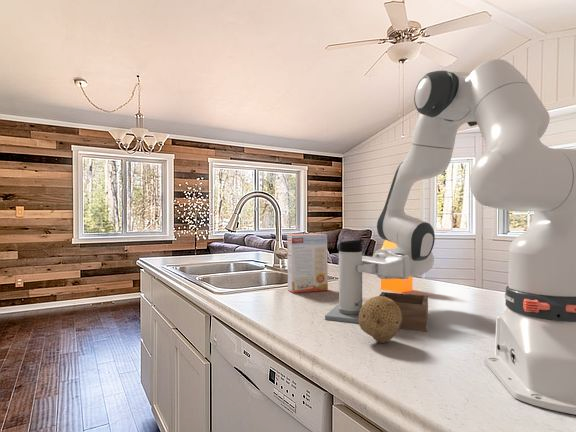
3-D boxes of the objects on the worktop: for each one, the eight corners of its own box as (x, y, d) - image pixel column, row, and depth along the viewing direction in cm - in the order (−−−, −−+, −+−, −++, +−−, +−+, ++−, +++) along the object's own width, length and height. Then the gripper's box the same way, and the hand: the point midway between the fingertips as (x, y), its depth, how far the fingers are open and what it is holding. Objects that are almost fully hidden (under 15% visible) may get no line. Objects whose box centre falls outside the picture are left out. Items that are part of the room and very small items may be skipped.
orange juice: (392, 286, 139) (392, 235, 139) (412, 290, 132) (412, 236, 132) (380, 289, 134) (380, 236, 134) (401, 292, 127) (401, 237, 127)
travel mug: (363, 316, 93) (363, 240, 93) (338, 314, 95) (338, 239, 95) (363, 310, 99) (363, 238, 100) (339, 308, 101) (339, 238, 101)
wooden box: (426, 331, 84) (426, 306, 84) (374, 325, 89) (374, 301, 89) (427, 318, 95) (427, 295, 95) (382, 313, 100) (382, 291, 100)
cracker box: (321, 287, 136) (321, 233, 136) (328, 290, 130) (328, 233, 130) (286, 290, 131) (286, 233, 132) (292, 293, 126) (292, 234, 126)
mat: (366, 324, 89) (366, 320, 89) (324, 319, 94) (324, 315, 94) (374, 312, 100) (374, 309, 100) (337, 308, 105) (337, 305, 105)
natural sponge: (380, 353, 70) (380, 303, 70) (349, 340, 78) (349, 294, 78) (410, 344, 75) (410, 297, 75) (379, 333, 83) (379, 290, 83)
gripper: (363, 250, 112) (326, 252, 106) (413, 256, 94) (373, 259, 88) (363, 269, 112) (326, 273, 106) (413, 279, 94) (373, 284, 88)
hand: (348, 266), depth 97 cm, fingers closed on travel mug, 6 cm apart
